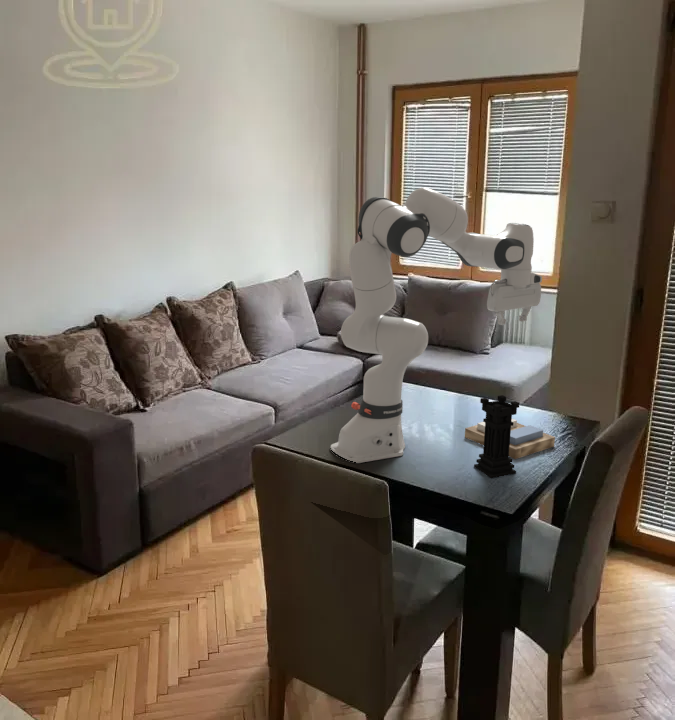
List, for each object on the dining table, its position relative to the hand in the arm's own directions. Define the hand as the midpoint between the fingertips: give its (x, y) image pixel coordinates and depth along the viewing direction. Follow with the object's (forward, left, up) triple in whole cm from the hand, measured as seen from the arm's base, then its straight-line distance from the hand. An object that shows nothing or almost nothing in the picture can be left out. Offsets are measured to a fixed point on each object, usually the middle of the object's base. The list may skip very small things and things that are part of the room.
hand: (512, 322), depth 208 cm
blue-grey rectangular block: (-8, -14, -32) cm, 36 cm away
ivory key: (-8, -4, -32) cm, 33 cm away
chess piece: (-27, -21, -34) cm, 48 cm away
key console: (-8, -9, -34) cm, 36 cm away
